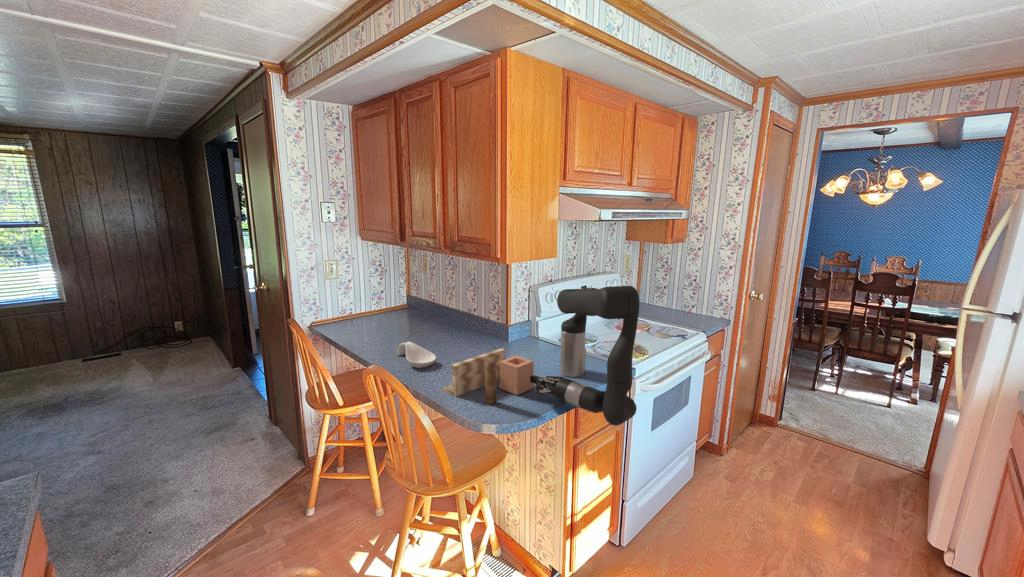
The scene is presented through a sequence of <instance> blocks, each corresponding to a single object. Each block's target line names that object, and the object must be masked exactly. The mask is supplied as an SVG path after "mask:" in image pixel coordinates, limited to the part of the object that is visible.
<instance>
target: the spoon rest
mask: <svg viewBox="0 0 1024 577" xmlns="http://www.w3.org/2000/svg"><path fill="white" fill-rule="evenodd" d="M402 355H405V358H406V361H407V362H408V364H409V365H410V366H412V367H414V368H417V369H423V368H427V367H430V366H431V365H433V364H434V363H436V362H435V361H436V360H437V356H436V354H434V353H433V352H431V351H429V350H427V349H425V348H423V347H422V346H419V345H418V344H416V343H414V342H412V341H407V342H402V343H400V344H399V346H398V347H397V350H396V356H402Z"/></svg>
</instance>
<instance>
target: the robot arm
mask: <svg viewBox="0 0 1024 577" xmlns="http://www.w3.org/2000/svg"><path fill="white" fill-rule="evenodd" d="M556 304H557V307H558V309H559V311H560V312H561V313H563V314H566V315H567V314H574V315H573V316H571V317H570V318H569V319H566V320H564V321H562V322H561V325H560V326H561V327H560V328H561V329H560V330H561V331H560V365H559V366H560V371H559V372H560V374H561V375H562V376H555V375H554V376H553V375H547V376H545V377H544V376H543V377H541V376H538V375H535V374H533V375H532V376H531V377H530V381H531V382H532V383H533V384H534V385H535V388H536V391H537V393H538V395H539V396H542V395H543V393H547V394H549V395H553V396H554V397H555V399H556V400H557V401H559V402H562V403H563V404H567V405H568V406H569V405H570V406H572V407H574V408H577V409H581V410H585V411H586V412H591V413H593V414H599V413H602V414H603V417H604V419H605V421H607V422H606V423H608V424H609V425H611V426H620V425H623V424H624V423H625V422H627V421H629V420H630V419H631V418H633V417H634V416H635V415H636V414H637V404H636V402H635V401H634V400H633V399H632V398H631V397H630V396H628V395H627V394H628V393H629V391H630V390H631V389H632V386H633V357H634V356H633V354H634V346H635V340H636V335H637V327H638V322H639V315H640V314H639V313H640V296H639V292H638V290H637V289H636V288H635V287H634V286H632V285H615V286H604V287H601V288H596V287H586V288H565V289H562V290H560V292H559V293H558V294H557V299H556ZM587 317H600V318H602V319H605V320H621V319H622V329H621V330H620V334H619V336H618V338H617V340H616V341H615V343H614V346H613V347H612V349H610V353H609V355H608V357H607V360H606V361H607V362H606V363H607V364H606V388H605V390H599V389H597V388H594V387H591V386H588V385H586V384H585V383H582V382H579V381H576V380H573V379H570V378H578V377H582V376H583V375H584V374H585V372H586V362H587V361H586V360H587V359H586V358H587V356H586V354H587V349H586V327H587V321H588V320H587V319H588V318H587ZM567 377H569V378H567Z"/></svg>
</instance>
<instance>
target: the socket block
mask: <svg viewBox="0 0 1024 577" xmlns="http://www.w3.org/2000/svg"><path fill="white" fill-rule="evenodd" d="M534 362H535V361H533V360H531V359H528V358H525V357H522V356H519V355H514V356H511V357H509V358H505V360H502V361H500V362H499V369H500V379H499V389H501V390H503V391H505V392H507V393H510V394H513V395H515V396H518V395H521V394H523V393H525V392H527V391H529V390H532V389H534V383H532V382H531V381H530V377H531V376H532V375H534V368H535V367H534Z"/></svg>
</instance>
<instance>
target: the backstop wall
mask: <svg viewBox="0 0 1024 577" xmlns="http://www.w3.org/2000/svg"><path fill="white" fill-rule="evenodd" d="M505 359H506V349H505V348H502V347H501V348H499V349H495V350H492V351H489V352H486V353H483V354H479V355H477V356H474V357H470V358H468V359H465V360H462V361H461V360H460V361H459V362H455V363H452V364H451V365H450V366H451V384H449V385H447V386H444V387H442V390H443V391H444V392H445V393H446V394H449V395H451V396H453V397H458V396H462V395H464V394H466V393H469V392H472V391H474V390H476V389H479V388H481V387H483V386H484V387H485V362H486V361H495V362H496V381H500V369H499V362H500V361H502V360H505Z"/></svg>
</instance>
